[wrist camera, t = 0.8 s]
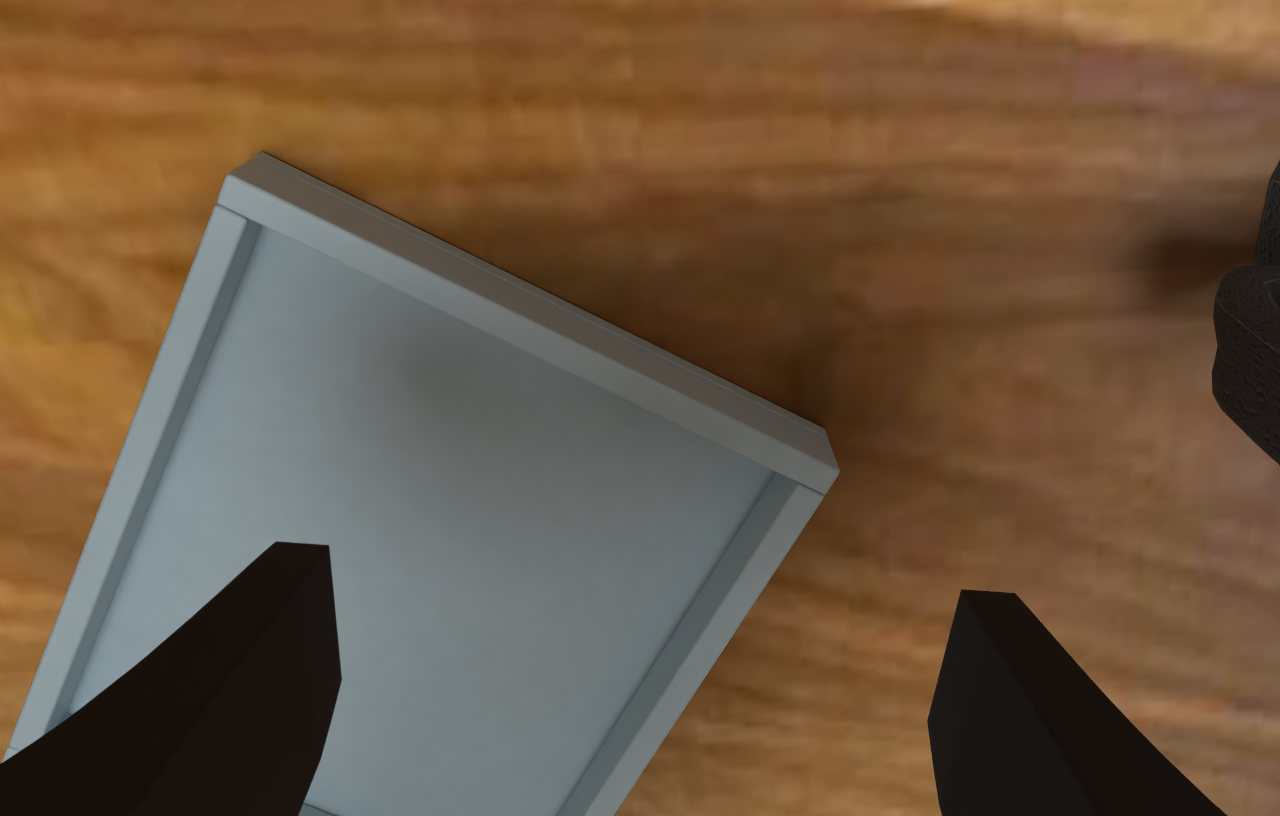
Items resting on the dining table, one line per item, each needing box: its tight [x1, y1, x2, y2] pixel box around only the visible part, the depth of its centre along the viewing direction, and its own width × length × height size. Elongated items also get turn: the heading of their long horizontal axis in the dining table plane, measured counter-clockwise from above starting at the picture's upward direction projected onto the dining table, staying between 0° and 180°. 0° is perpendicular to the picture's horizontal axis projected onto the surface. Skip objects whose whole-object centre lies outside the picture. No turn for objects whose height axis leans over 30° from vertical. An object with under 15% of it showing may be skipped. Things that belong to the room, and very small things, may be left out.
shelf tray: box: [2, 152, 840, 816], centre depth 24 cm, size 14×12×2 cm
